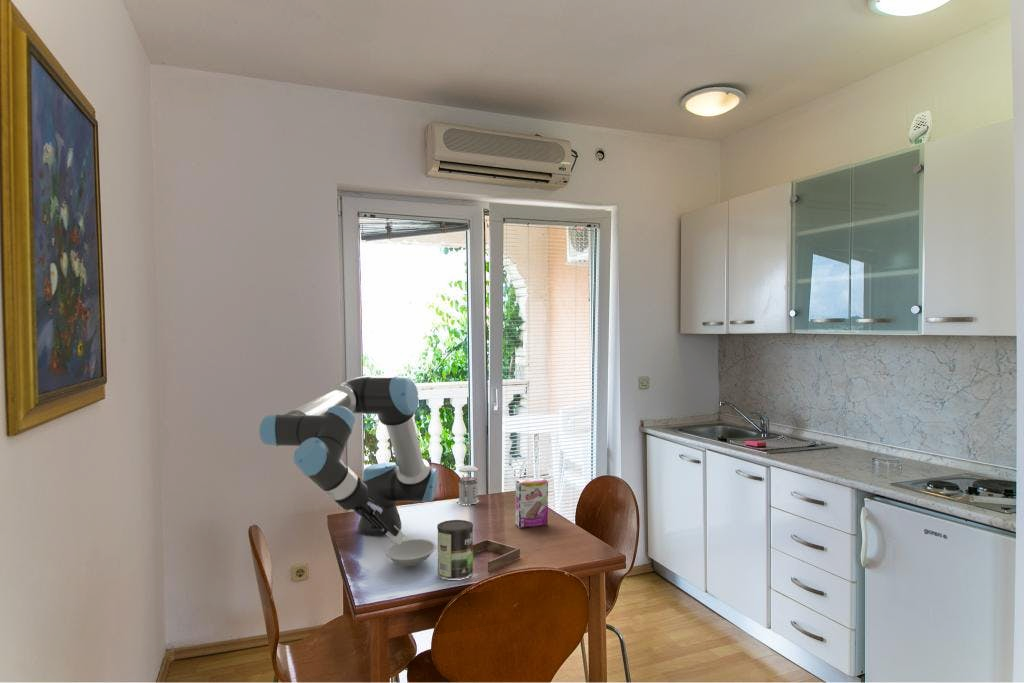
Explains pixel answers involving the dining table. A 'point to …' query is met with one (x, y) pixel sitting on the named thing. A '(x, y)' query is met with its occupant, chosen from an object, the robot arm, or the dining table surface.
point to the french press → (468, 485)
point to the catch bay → (508, 551)
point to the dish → (410, 551)
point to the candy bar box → (531, 503)
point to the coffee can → (455, 549)
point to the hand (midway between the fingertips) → (400, 539)
